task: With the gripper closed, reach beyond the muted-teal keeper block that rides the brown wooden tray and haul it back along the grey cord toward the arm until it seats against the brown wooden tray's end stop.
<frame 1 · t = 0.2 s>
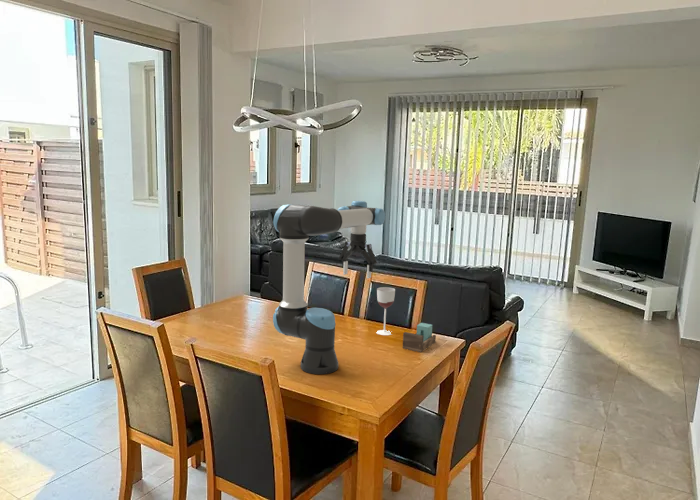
hand: (356, 276, 250), 28 cm above the table, fingers open, 13 cm apart
keeper: (424, 332, 239), point 5 cm above the table, slide at 0.0 cm
wineglass: (384, 332, 253), on the table
brown wooden tray: (419, 345, 236), on the table
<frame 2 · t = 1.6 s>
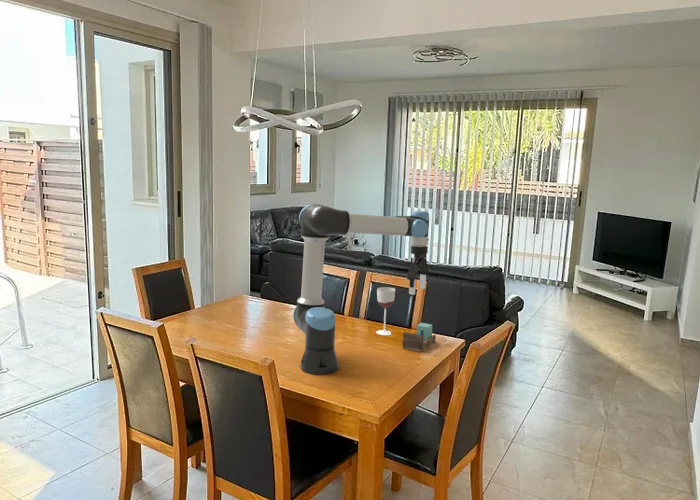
hand: (417, 291, 234), 25 cm above the table, fingers open, 13 cm apart
nothing on the table moved.
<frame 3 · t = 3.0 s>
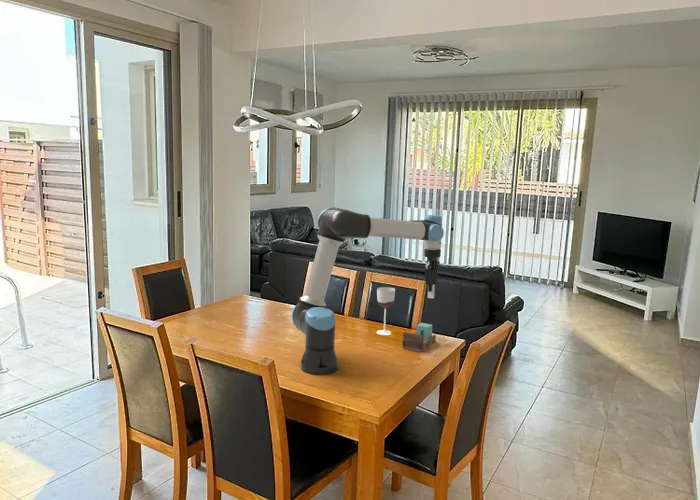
hand: (430, 297, 240), 21 cm above the table, fingers closed
nothing on the table moved.
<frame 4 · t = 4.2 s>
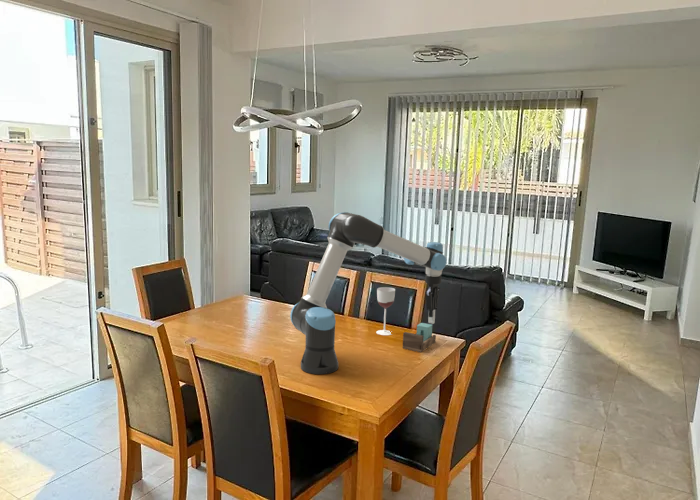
hand: (431, 322, 245), 8 cm above the table, fingers closed
nothing on the table moved.
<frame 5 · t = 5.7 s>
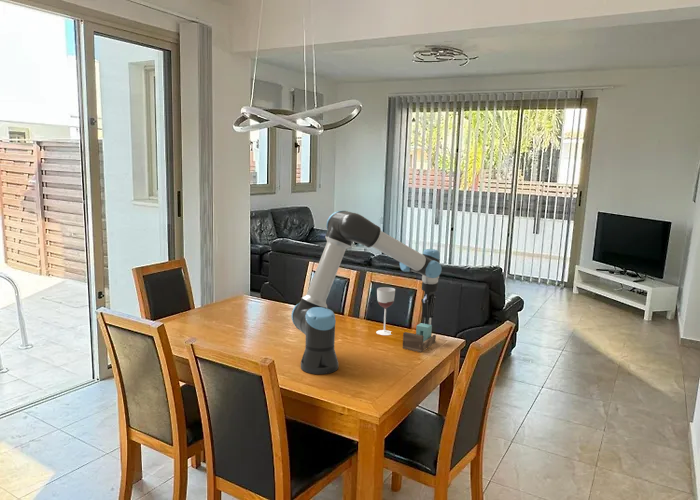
hand: (427, 330, 243), 5 cm above the table, fingers closed
keeper: (423, 332, 239), point 5 cm above the table, slide at 0.6 cm, touching gripper
everything else where it was.
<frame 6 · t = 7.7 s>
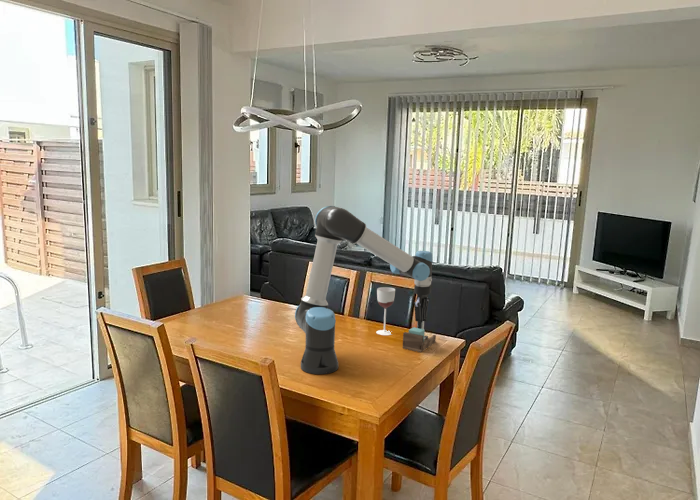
hand: (420, 334, 235), 5 cm above the table, fingers closed
keeper: (416, 337, 232), point 5 cm above the table, slide at 9.0 cm, touching gripper, brown wooden tray
everything else where it was.
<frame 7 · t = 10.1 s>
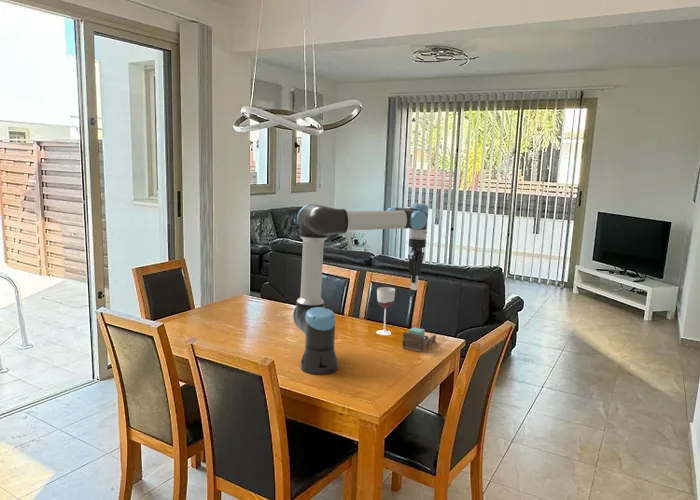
hand: (413, 289, 233), 26 cm above the table, fingers closed
keeper: (416, 337, 232), point 5 cm above the table, slide at 9.0 cm, touching brown wooden tray
everything else where it was.
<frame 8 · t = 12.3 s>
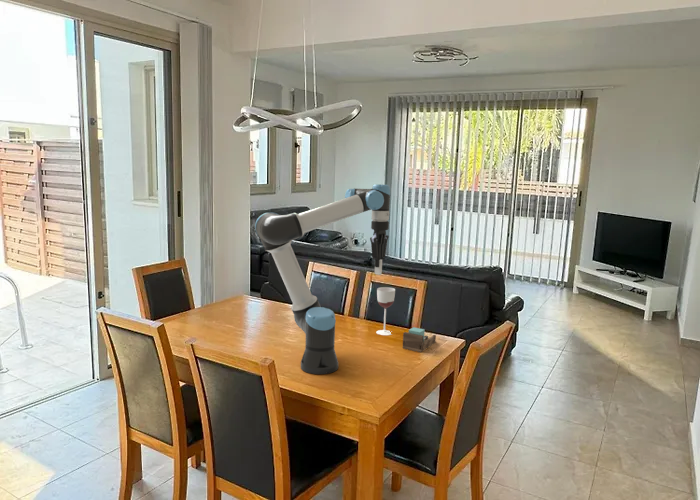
hand: (378, 274, 223), 34 cm above the table, fingers closed
nothing on the table moved.
at the end: keeper slide at 9.0 cm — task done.
